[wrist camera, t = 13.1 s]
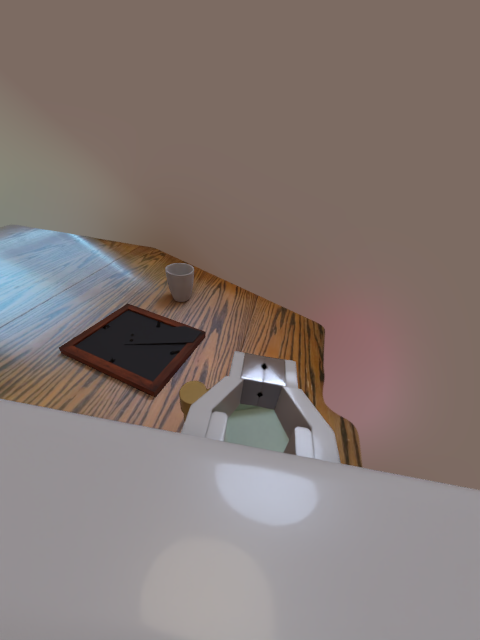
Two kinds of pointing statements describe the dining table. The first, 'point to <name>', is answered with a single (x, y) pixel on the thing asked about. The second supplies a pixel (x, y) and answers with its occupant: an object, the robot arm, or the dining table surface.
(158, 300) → the dining table surface
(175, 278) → the cup
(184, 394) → the spout
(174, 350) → the picture frame
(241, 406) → the sink
